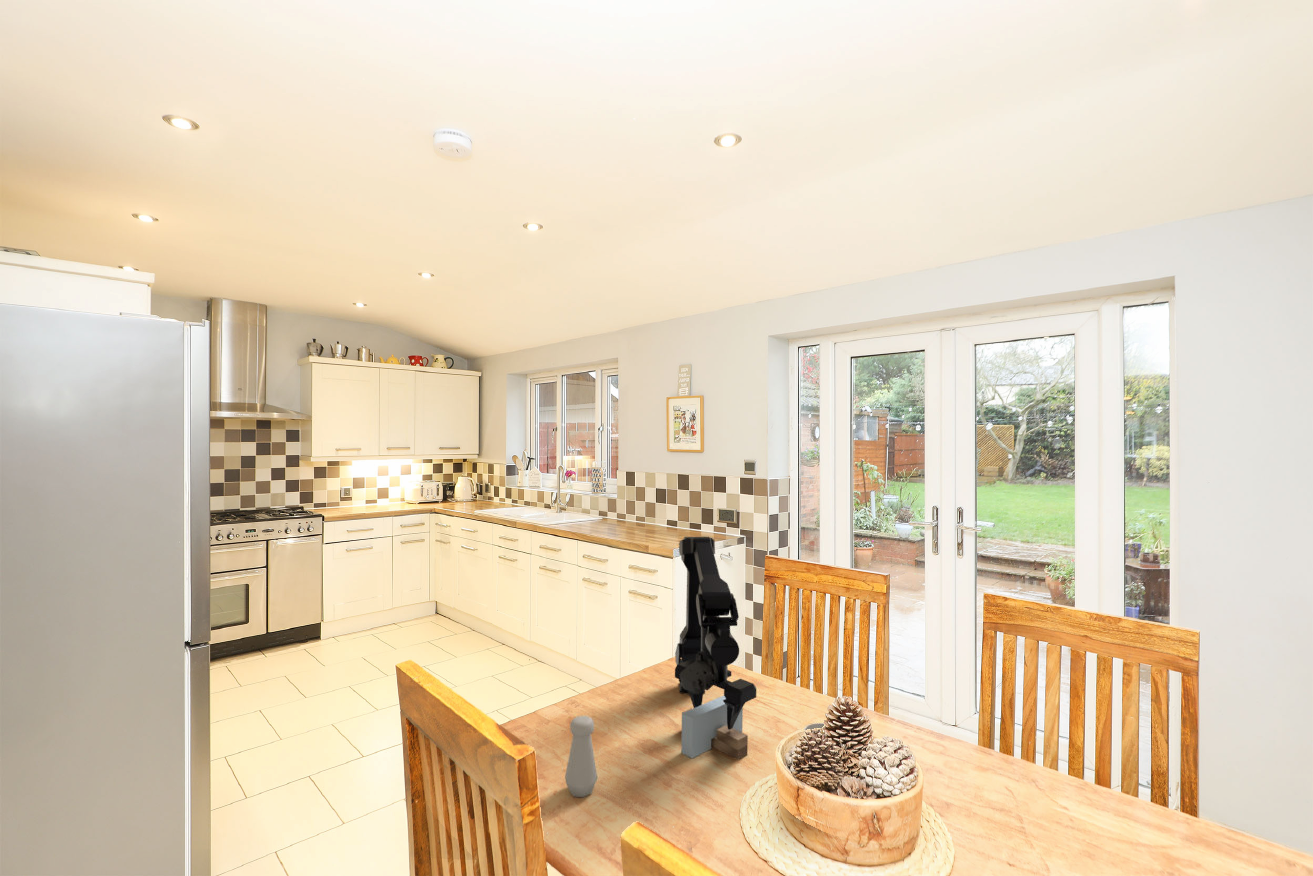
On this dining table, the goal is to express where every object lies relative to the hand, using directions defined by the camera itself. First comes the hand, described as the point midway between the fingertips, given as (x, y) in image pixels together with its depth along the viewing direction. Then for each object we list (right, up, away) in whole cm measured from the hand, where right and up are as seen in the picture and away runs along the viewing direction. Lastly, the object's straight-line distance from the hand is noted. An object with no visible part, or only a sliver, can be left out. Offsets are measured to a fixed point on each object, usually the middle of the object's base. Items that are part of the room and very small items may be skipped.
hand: (713, 720), depth 124 cm
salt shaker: (-26, -4, -18) cm, 32 cm away
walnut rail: (0, -5, 0) cm, 4 cm away
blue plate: (0, -5, 0) cm, 5 cm away
